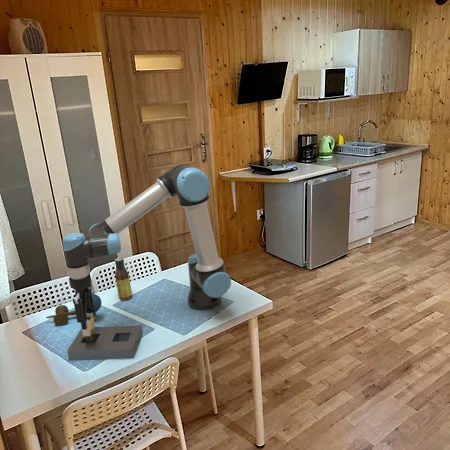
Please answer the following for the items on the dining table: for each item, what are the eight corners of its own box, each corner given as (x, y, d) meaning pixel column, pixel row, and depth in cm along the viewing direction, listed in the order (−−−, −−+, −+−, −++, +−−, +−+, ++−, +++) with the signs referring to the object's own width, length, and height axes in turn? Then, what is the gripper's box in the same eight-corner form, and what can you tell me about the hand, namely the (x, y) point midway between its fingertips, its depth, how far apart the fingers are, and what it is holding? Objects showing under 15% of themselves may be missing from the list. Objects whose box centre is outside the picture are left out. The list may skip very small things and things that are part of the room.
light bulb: (93, 326, 179) (88, 300, 175) (79, 321, 183) (75, 296, 180) (108, 317, 186) (104, 292, 182) (94, 313, 190) (90, 288, 186)
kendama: (95, 320, 185) (45, 329, 179) (94, 310, 194) (47, 319, 188) (93, 307, 183) (43, 316, 178) (93, 298, 192) (45, 306, 186)
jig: (142, 334, 171) (141, 325, 170) (133, 358, 156) (132, 348, 155) (83, 336, 172) (82, 327, 171) (68, 360, 157) (67, 350, 156)
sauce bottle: (135, 296, 203) (129, 257, 197) (125, 302, 198) (120, 262, 192) (125, 294, 207) (119, 255, 201) (115, 299, 202) (109, 260, 196)
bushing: (97, 334, 165) (94, 315, 163) (93, 341, 161) (90, 321, 158) (86, 334, 165) (83, 316, 163) (82, 341, 161) (78, 322, 159)
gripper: (77, 266, 164) (86, 320, 171) (59, 286, 147) (70, 345, 154) (97, 265, 163) (105, 319, 170) (81, 285, 147) (91, 344, 154)
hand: (89, 331), depth 162 cm, fingers closed on bushing, 4 cm apart
